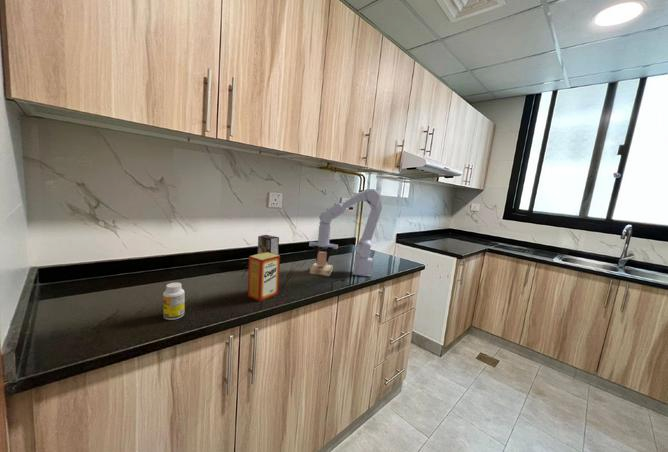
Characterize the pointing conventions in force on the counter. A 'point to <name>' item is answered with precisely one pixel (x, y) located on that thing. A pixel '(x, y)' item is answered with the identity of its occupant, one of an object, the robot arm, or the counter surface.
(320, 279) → the counter surface
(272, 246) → the grey tall block
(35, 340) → the counter surface
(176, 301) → the supplement bottle
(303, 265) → the counter surface
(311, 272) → the oak block
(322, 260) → the pinkish brown block
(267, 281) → the baking soda box
